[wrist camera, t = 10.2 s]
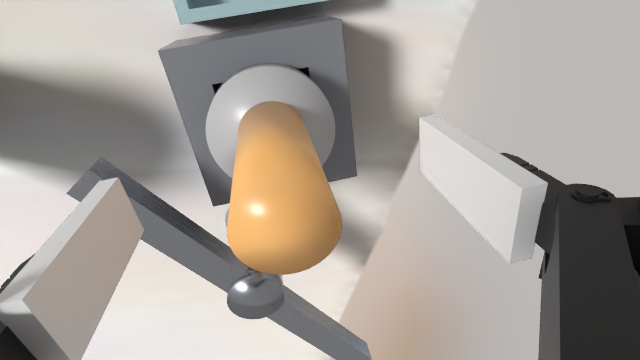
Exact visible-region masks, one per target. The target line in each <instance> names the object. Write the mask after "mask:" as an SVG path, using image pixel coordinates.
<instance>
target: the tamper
mask: <svg viewBox="0 0 640 360" xmlns="http://www.w3.org/2000/svg"><path fill="white" fill-rule="evenodd" d="M205 130H206V139H207V144H208V147H209V150H210V152H211V154H212V156H213V158H214V160H215V161H216V163H217V164H218V165H219V167H220V168H221V169H222V170H223V171H224V172H225V173H226V174H227V175H229V176H230V177H231V178H233V180H232V189H231V197H230V206H229V215H228V224H227V238H228V243H229V245H230V248H231V250H232V251H233V253H234V254H235V256H236V257H237V258H238V259H239V260H240V261H241V262H242V263H244V264H245V265H247V266H248V267H250V268H252V269H254V270H257V271H260V272H263V273H268V274H277V275H283V274H292V273H297V272H301V271H304V270H306V269H309V268H311V267H313V266H315V265H316V264H318V263H320V262H321V261H322V260H323V259H325V258H326V257H327V256H328V255H329V254H330V253H331V251H332V250H333V249H334V247H335V246H336V244H337V242H338V240H339V238H340V234H341V229H342V220H341V214H340V212H339V209H338V206H337V204H336V201H335V199H334V196H333V194H332V191H331V189H330V186H329V184H328V181H327V179H326V176H325V173H324V171H323V168H322V166H323V164H324V163H325V162H326V160H327V158H328V156H329V155H330V152H331V150H332V147H333V144H334V140H335V120H334V115H333V112H332V109H331V106H330V104H329V102H328V100H327V99H326V97H325V96H324V94H323V93H322V91H321V90H320V88H319V87H318V86H317V85H316V84H315V82H314V81H313V80H311V79H310V78H309V77H308V76H307V75H305V74H304V73H302V72H301V71H299V70H297V69H295V68H292V67H289V66H286V65H282V64H277V63H261V64H256V65H251V66H248V67H246V68H243V69H241V70H239V71H237V72H235V73H234V74H233V75H231V76H230V77H229V78H228V79H227V80H226V81H225V82H224V83H223V84H222V85H221V86H220V88H219V89H218V90H217V92H216V94H215V96H214V98H213V100H212V103H211V105H210V108H209V111H208V114H207V119H206V129H205Z"/></svg>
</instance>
